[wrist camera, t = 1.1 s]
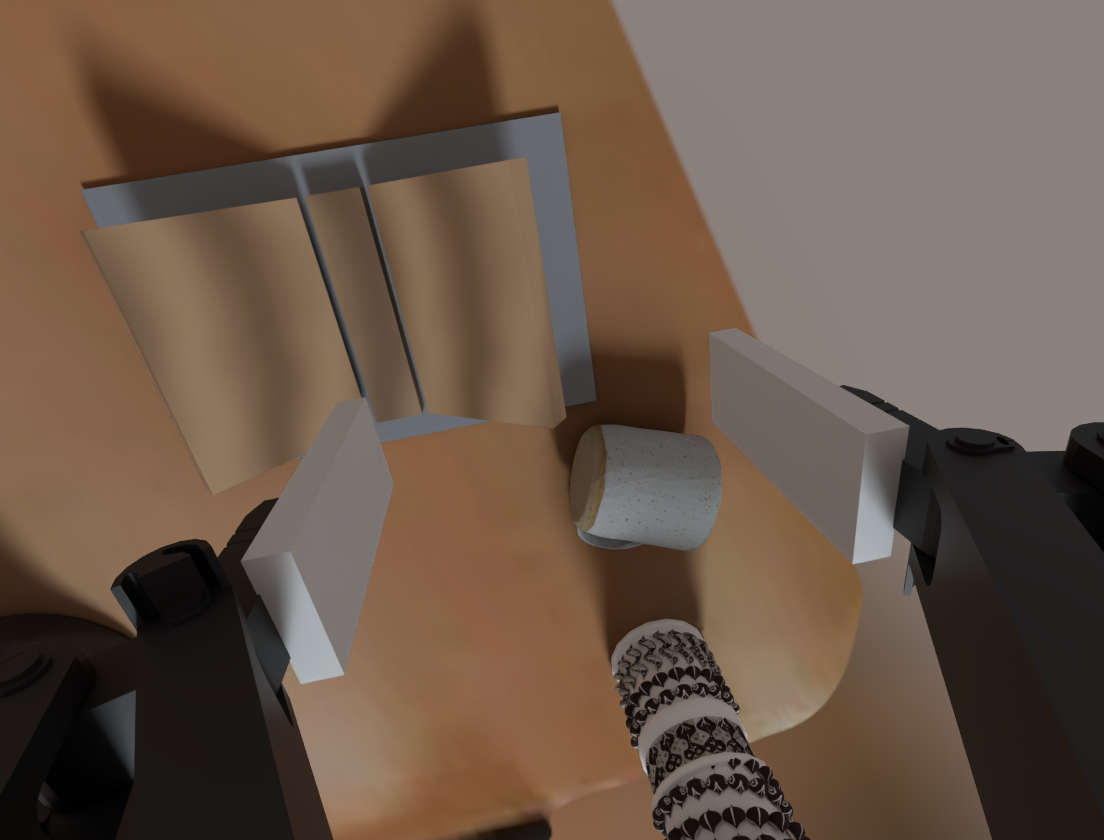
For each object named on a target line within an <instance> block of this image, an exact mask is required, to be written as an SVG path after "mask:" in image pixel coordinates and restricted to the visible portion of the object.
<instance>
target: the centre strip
mask: <svg viewBox="0 0 1104 840" xmlns="http://www.w3.org/2000/svg"><path fill="white" fill-rule="evenodd" d="M305 199H306V202H307V206H308V209H309V212H310V215H311V218H312V221H313V224H314V228H315V231H316V234H317V237H318V240H319V243H320V246H321V249H322V253H323V256H324V259H325V262H326V265H327V268H328V271H329V275H330V278H331V281H332V284H333V287H334V290H335V293H336V296H337V300H338V303H339V306H340V309H341V312H342V315H343V318H344V322H345V325H346V328H347V331H348V334H349V337H350V340H351V343H352V347H353V350H354V353H355V356H356V359H357V362H358V365H359V369H360V372H361V375H362V378H363V381H364V384H365V387H366V391H367V394H368V397H369V400H370V403H371V406H372V409H373V412H374V416H375V419H376V422H377V423H379V422H385V421H390V420H395V419H400V418H405V417H411V416H416V415H421V414H422V413H423V409H424V402H423V399H422V395H421V391H420V388H419V384H418V380H417V377H416V373H415V369H414V366H413V362H412V358H411V355H410V351H409V348H408V344H407V340H406V337H405V333H404V329H403V326H402V322H401V318H400V315H399V311H398V307H397V304H396V300H395V296H394V293H393V289H392V285H391V282H390V278H389V275H388V271H387V267H386V264H385V260H384V256H383V253H382V249H381V245H380V242H379V238H378V234H377V231H376V227H375V223H374V220H373V216H372V212H371V209H370V205H369V201H368V198H367V194H366V191H365V187H357V188H351V189H345V190H339V191H333V192H327V193H321V194H315V195H309V196H305Z"/></svg>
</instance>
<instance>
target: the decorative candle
mask: <svg viewBox="0 0 1104 840" xmlns="http://www.w3.org/2000/svg"><path fill="white" fill-rule="evenodd" d="M611 664H612V673H613V675H614V678H615V679H617V681H618V682H619V684H618V685H616V687H615V689H616V690H617V691H618V693H619V695H620V696H623V697H622V698H623V700H621V701H620V706H621V707H622V708H625V715H626V716H627V718H628V719H627V720H626V726H627V727H628V728H629V729H630V733H631V735H632V736H633V737H632V739H631V745H632V746H633V747H634V748H635V749H638V753H639V755H640V758H641V762H642V765H643V769H644V771H645V772H646V773H647V775H648V777H649V781H650V784H651V788H652V791H653V794H654V796H653V798H652V813H653V819H654V822H653V824H654V827H655V828H656V829H657V830H658V831H661V832H662V833H663V835H664V836H666V839H665V840H794V839H793V837H792V835H793V836H794V837H795V839H796V840H810V839H809V838H808V837H806V836H805V831H804V828H803V826H802V825H801V824H800V823H798V822H793V820H792V818H791V816H792V815H793V809H792V807H791V805H790V804H789V803H788V802H787V801H785V800H784V795H783V792H782V791H781V786H780V784H779V782H778V781H777V780H775V779H774V778H773V773H772V770H771V769H770V767H767V766H766V765H765V763H764V762H763V761H762V760H760V759H758V758H756V757H755V755H754V753H753V751H752V749H751V747H750V745H749V743H748V741H747V733H746V731H745V729H744V727H743V725H742V723H741V721H740V719H739V717H738V714H739V711H740V708H739V706H738V705H737V704H736V703H734V698H733V696H732V694H731V691H730V688H729V687H727V686H725V680H724V678H723V677H722V672H721V669H720V668H719V667H718V666H717V664H716V661H715V659H714V656H713V654H712V652H711V651H710V650H709V648H708V645H707V644H706V642H705V641H704V639H703V637H702V636H701V634H700V632H699V631H698V629H697V628H695V627H694V626H692V625H690V624H688V623H687V622H685V621H681V620H674V619H661V620H656V621H650V622H646V623H644V624H642V625H641V626H639V627H637V628H635V629H633V630H631V631H629V632H628V633H627V634H626V635H625V636H624V637H623V638H622V639H621V640H620V641H619V642H618V643H617V645H616V647H615V650H614V652H613V654H612V657H611ZM780 808H781V811H782V812H780V811H779V809H780ZM791 834H792V835H791Z"/></svg>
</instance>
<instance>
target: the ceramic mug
mask: <svg viewBox="0 0 1104 840" xmlns="http://www.w3.org/2000/svg"><path fill="white" fill-rule="evenodd" d="M721 495H722V476H721V466H720V461H719V458H718V455H717V453H716V451H715V448H714V446H713V445H712V443H711V442H710V441H709V440H707V439H706V438H704V437H701V436H698V435H689V434H682V433H675V432H667V431H659V430H651V429H642V428H635V427H629V426H623V425H612V424H611V425H595V426H592V427H590V428H589V429H588V430H587V431H586V432H585V433H584V434H583V435H582V437H581V439H580V441H579V444H578V447H577V449H576V453H575V457H574V461H573V466H572V472H571V479H570V492H569V504H570V512H571V517H572V520H573V522H574V523H575V524H576V526H577V532H578V535H579V537H580V538H581V539H582V540H583V541H585V542H586V543H588V544H591V545H593V546H596V547H600V548H605V549H628V548H633V547H637V546H639V545H642V544H648V545H654V546H660V547H665V548H671V549H677V550H683V551H691V550H694V549H697V548H699V547H700V546H701V545H702V544H703V543H704V542H705V541H706V540H707V538H708V536H709V535H710V533H711V531H712V529H713V527H714V524H715V522H716V518H717V514H718V511H719V506H720V501H721Z"/></svg>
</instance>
